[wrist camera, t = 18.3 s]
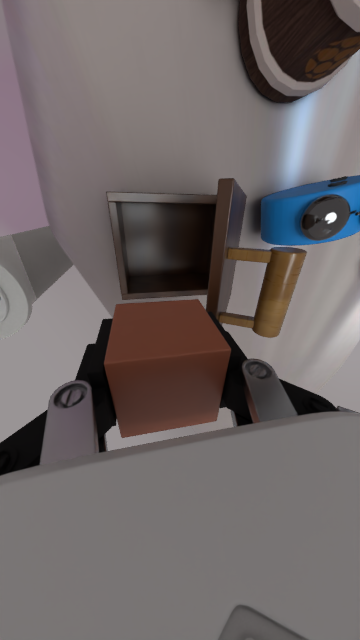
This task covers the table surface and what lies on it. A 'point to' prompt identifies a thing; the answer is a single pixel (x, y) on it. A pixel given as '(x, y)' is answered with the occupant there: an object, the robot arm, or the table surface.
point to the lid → (225, 252)
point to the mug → (297, 43)
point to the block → (165, 366)
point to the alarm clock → (312, 213)
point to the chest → (162, 243)
